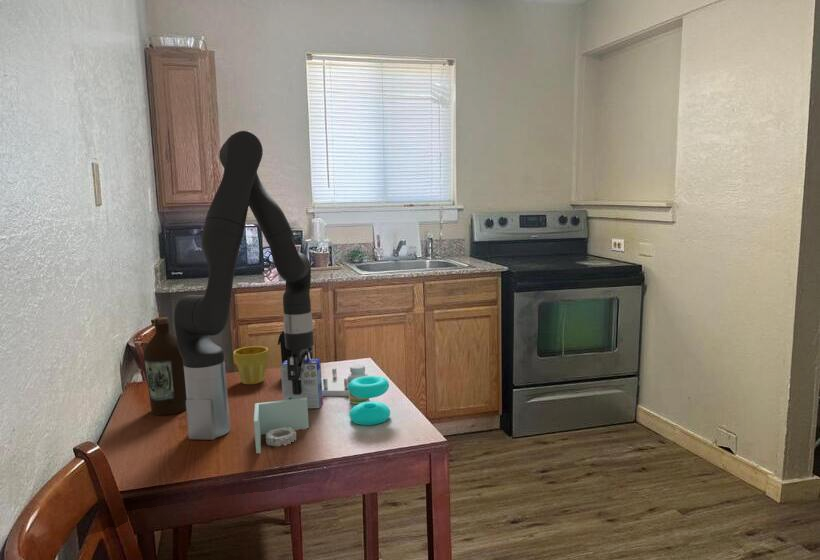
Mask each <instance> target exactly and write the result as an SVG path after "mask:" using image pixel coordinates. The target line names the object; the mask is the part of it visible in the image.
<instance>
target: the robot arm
mask: <svg viewBox="0 0 820 560" xmlns="http://www.w3.org/2000/svg"><path fill="white" fill-rule="evenodd" d="M263 151H264V149H263V145H262V142H261V141H260V138H259V137H258V136H257V135H256V134H255V133H253V132H251V131H249V130H239V131H237V132H234V133H233V134H231V135H230V136H229V137H228V138H227V139H226V141H225V142H224V143H223V145H221V147H220V150H219V153H218V155H219V157H218V158H219V161H220V164H221V165H222V167H223V175H222V178H221V181H220V184H219V186H218V188H217V190H216V192H215V195H214V197H213V199H212V201H211V204H210V206H209V208H208V211H207V214H206V217H205V220H204V225H203V229H202V234H201V238H200V241H201V247H202V251H203V255H204V257H205V262H206V263H207V264H206V265H207V268H208V279H207V280H208V281H207V285H206V290H205V293H204V294H202V295H201V294H199V295H197V294H187V295H184V296H183V297H181V298H179V300H178V301H177V303H176V305H175V308H174V312H173V322H174V323H173V324H174V329H175V330H174V331H175V336H176V338H177V344H178V350H179V353H180V355H181V357H182V359H183V365H184V375H185V387H186V397H187V400H186V410H185V411H186V421H187V431H188V439H189V440H207V441H208V440H212V441H213V440H215V439H217V438H220V437H222V436H224V435H227V434H228V433H229V432H230V431H231V423H230V419H231V418H230V409H229V398H228V397H229V396H228V385H227V374H226V361H225V351H224V349H223V348H222V347H221V346H219V345H218V344H216V343H215V342H213V341H212V340H211V339H210V337H209V336H211V337H212V336H217V335H219V334H221V333H222V332H223V330H224V329H225V328H226V326H227V323H228V320H229V315H230V309H231V301H232V292H233V283H234V277H235V273H236V266H237V261H238V258H239V252H240V248H241V245H242V241H243V236H244V232H245V227H246V222H247V218H248V217H247V216H248V211H249V209H250V211H251V212H252V214H253V217H254V218H255V220H256V223H257V224H258V226H259V229H260V230H261V233H262V234H263V237H264V239H265V240H266V243H267V245H268V246H269V249H270V253H271V254H270V255H271V257H272V260H273V264H274V266H275V269H276V271H277V273H278V274H279V276H280V277H281V278H282V280H284V281H285V291H284V292H283V296H282V305H283V306H282V307H283V331H284V337H285V347H286V348H287V349H290V350H292V355H291V357H287V370H288V380H291V381H292V389H293V394H294V395H300V394H301V393H302V387H301V375H302V373H303V372H304V367H305V366H304V364H305V362H306V360H307V357H308V360H309V359H314V350H313V349H314V345H315V339H314V338H315V336H314V323H313V322H314V320H313V316H312V307H311V306H312V304H311V296H310V293H311V292H310V291H311V283H312V282H311V280H312V279H311V278H312V269H311V268H312V266H311V262H310V259H309V257H307V256H306V255H305V254H304V253H302V252H299V251H298V249H297V247H296V245H295V242H294V241H295V235H294V232H293V230H292V229H293V228H292V227H291V225H290V223H289V221H288V219H287V216H286V215H285V213H284V212H283V210H282V208H281V206H280V205H279V204H278V203H277V202H276V201H275V199H274V198H273V197H272V196H271V195H270V194H269V192H267V190H266V187H264V185H263V184H262V182H261V180H260V178H259V175H258V170H259V167H260V164H261V161H262V158H263V154H264V153H263ZM306 351H308V353H306ZM298 367H301V368H298ZM298 372H299V373H298ZM294 374H295V376H294Z"/></svg>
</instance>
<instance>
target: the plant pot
mask: <svg viewBox="0 0 820 560" xmlns="http://www.w3.org/2000/svg"><path fill="white" fill-rule="evenodd" d="M232 355H233V357H232V358H233V364H235V365H236V367H237V371H238V373H239V377H240V381H241V383H242V384H244V385H256V384H260V383H262V382H263V381H264V380H265V373H266V368H267V362H268V361H269V359H270V358H269V348H268V347H266V346H262V345H261V346H260V345H259V346H258V345H255V346H253V345H252V346H245V347H244V346H243V347H240V348H237V349H235V350H234V351H233V354H232Z"/></svg>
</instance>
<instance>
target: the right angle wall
mask: <svg viewBox="0 0 820 560" xmlns="http://www.w3.org/2000/svg"><path fill="white" fill-rule="evenodd" d="M308 409H309V408H307V398H300V399H291V400H283V399H282V400H273V401H265V402H264V401H263V402H257V403H254V414H253V429H254V441H255V453H256V454H257V453H259V454H261V447H262V435H265V442H266V443H265V444H266V445H269V446H272V447H277V446H280V447H282V446H281V445H284V446H283V447H286V446H288V445H291V442H294V440H295V441H296V440H297V431H300V430H299V429H302V430H308V429H307V428H309V429H310V427H309V426H310V425H309V423H310V422H309V413H308V412H309V411H308ZM294 443H295V442H294ZM287 444H288V445H287Z"/></svg>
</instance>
